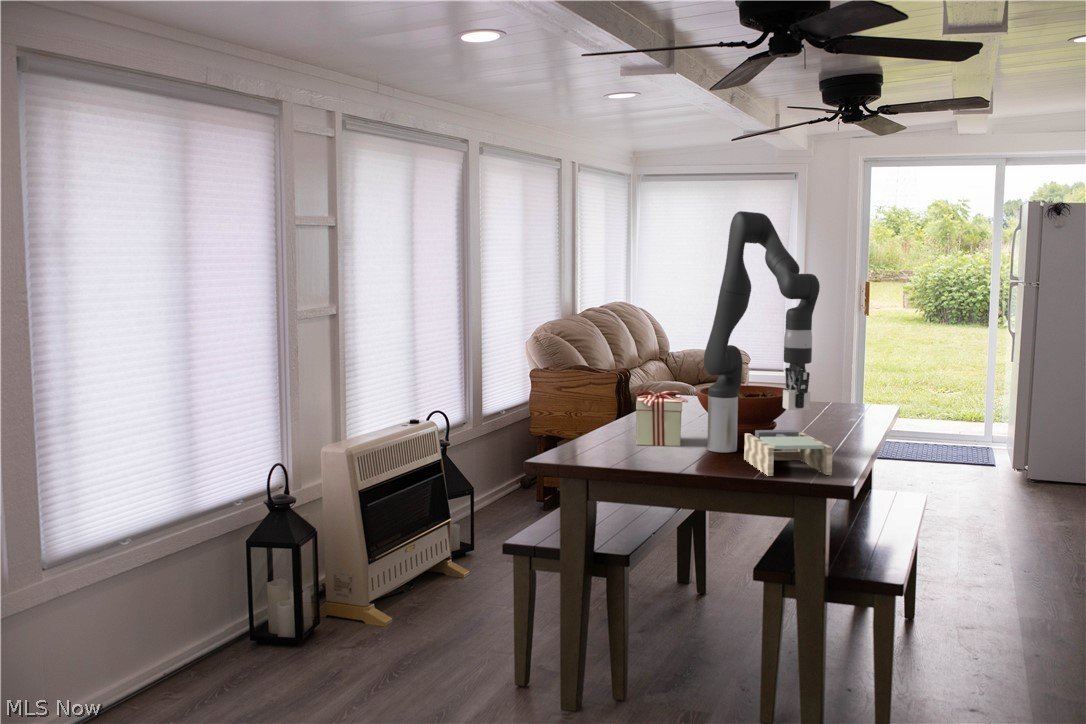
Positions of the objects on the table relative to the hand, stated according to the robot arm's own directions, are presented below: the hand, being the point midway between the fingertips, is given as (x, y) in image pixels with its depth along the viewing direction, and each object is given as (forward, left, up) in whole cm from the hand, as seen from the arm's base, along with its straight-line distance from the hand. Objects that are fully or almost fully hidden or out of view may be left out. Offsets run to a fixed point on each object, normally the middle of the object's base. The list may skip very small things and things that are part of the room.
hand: (796, 406), depth 264 cm
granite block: (0, 0, -1) cm, 1 cm away
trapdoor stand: (-7, 0, -19) cm, 20 cm away
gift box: (-48, -29, -19) cm, 59 cm away
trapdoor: (-8, 0, -14) cm, 16 cm away
